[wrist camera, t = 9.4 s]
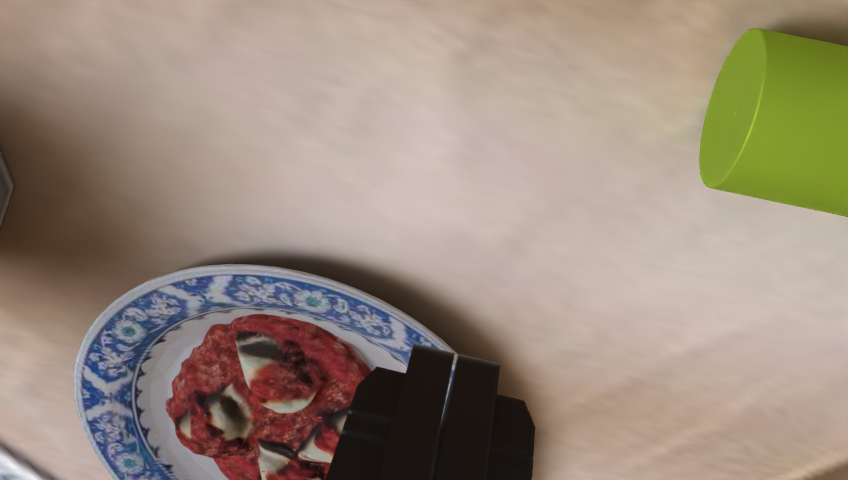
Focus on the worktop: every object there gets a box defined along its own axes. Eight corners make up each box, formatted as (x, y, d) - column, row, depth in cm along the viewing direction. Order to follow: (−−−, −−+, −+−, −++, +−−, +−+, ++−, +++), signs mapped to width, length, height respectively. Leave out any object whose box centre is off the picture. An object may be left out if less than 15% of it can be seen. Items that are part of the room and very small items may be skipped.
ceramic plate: (16, 375, 47) (-15, 410, 45) (287, 150, 35) (265, 180, 33) (306, 597, 55) (294, 636, 53) (606, 475, 43) (608, 519, 41)
